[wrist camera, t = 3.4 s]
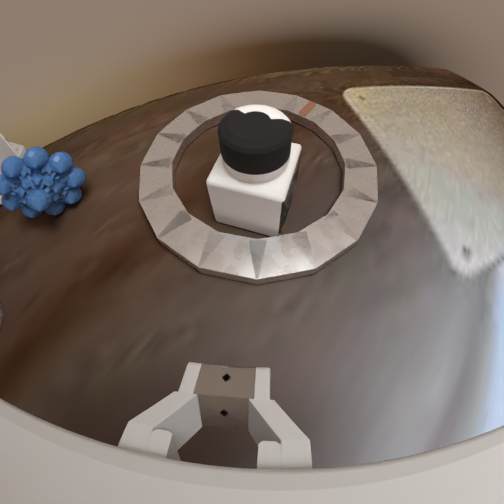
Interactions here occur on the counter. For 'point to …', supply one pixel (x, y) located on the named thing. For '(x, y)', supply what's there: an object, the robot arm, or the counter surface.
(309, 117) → the turntable ring
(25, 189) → the grapes
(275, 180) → the medicine bottle
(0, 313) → the mug
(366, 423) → the counter surface
